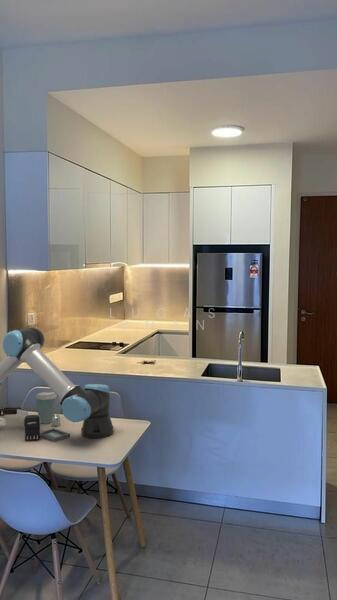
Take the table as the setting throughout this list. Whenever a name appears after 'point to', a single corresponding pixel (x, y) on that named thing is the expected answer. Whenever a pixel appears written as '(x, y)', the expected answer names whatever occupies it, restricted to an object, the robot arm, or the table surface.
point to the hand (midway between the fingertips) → (16, 418)
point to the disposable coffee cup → (45, 406)
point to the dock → (54, 435)
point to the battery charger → (32, 427)
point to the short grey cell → (55, 420)
